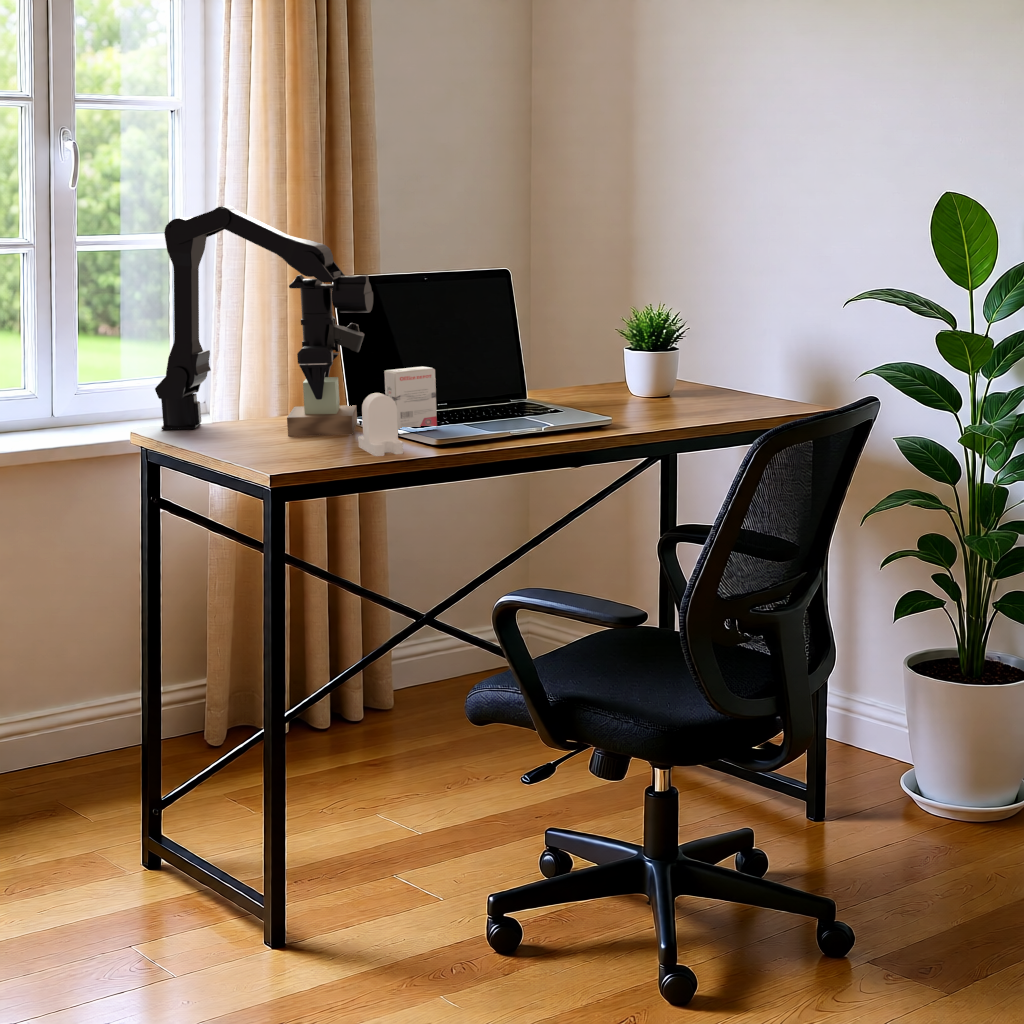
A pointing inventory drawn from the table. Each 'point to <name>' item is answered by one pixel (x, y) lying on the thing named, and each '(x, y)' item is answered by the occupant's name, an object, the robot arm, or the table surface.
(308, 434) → the walnut block
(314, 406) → the sage cube
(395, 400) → the ink box
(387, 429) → the white rounded upright block
